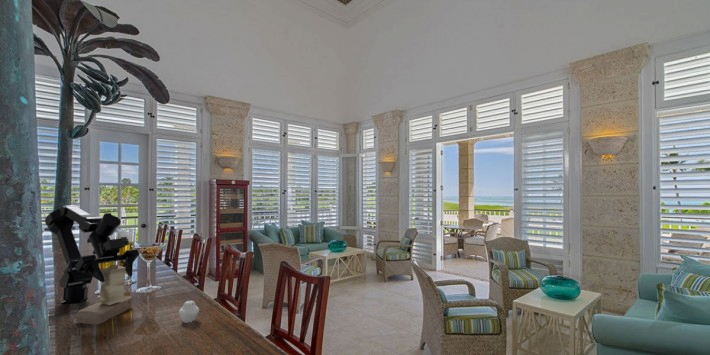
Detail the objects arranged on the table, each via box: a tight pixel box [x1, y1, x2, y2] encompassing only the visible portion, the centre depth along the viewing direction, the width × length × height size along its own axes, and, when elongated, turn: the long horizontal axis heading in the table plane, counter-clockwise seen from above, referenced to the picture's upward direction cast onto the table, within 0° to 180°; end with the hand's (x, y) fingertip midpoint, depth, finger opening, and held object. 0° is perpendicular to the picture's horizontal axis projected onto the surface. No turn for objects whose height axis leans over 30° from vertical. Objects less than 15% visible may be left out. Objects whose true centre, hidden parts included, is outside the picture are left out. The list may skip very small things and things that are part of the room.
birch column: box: [99, 264, 126, 305], centre depth 121 cm, size 5×5×13 cm
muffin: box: [179, 300, 200, 324], centre depth 116 cm, size 6×6×7 cm
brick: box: [75, 295, 134, 325], centre depth 119 cm, size 17×8×5 cm, turn 179°
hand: (117, 278), depth 120 cm, fingers open, 9 cm apart
